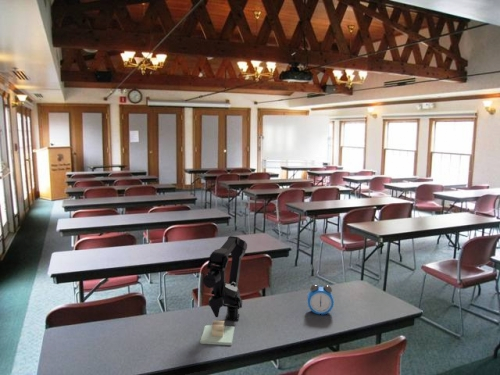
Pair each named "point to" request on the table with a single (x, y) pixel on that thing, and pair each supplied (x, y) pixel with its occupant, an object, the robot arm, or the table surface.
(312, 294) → the alarm clock
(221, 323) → the birch cube
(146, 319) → the table surface
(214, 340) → the green pad
